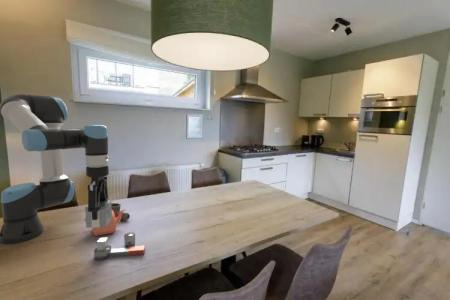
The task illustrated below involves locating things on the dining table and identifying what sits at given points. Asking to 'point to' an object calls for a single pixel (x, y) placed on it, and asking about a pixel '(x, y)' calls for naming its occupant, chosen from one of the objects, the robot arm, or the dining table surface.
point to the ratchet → (115, 250)
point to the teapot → (110, 227)
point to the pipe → (117, 210)
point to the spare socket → (129, 239)
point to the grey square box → (101, 214)
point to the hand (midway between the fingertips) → (99, 222)
